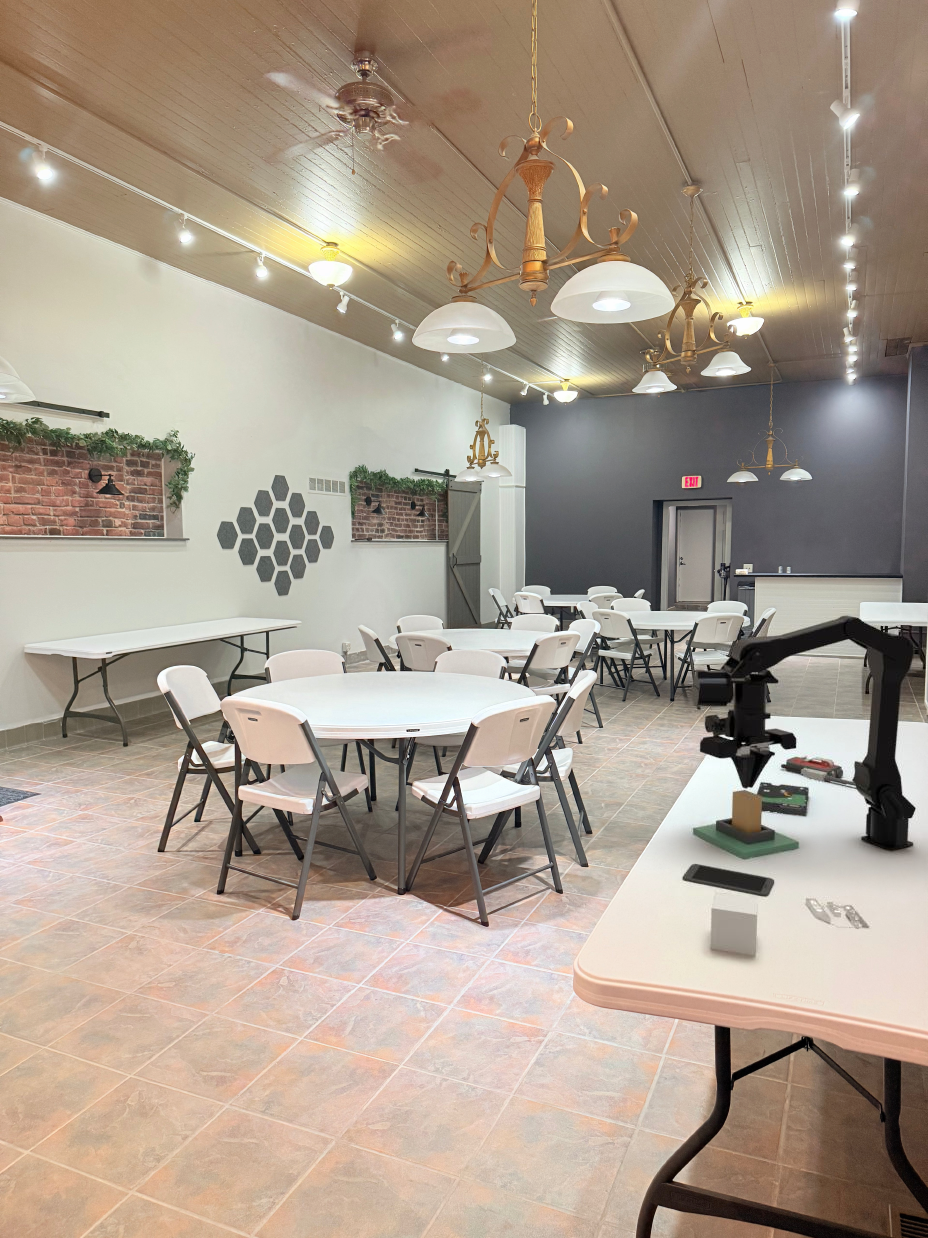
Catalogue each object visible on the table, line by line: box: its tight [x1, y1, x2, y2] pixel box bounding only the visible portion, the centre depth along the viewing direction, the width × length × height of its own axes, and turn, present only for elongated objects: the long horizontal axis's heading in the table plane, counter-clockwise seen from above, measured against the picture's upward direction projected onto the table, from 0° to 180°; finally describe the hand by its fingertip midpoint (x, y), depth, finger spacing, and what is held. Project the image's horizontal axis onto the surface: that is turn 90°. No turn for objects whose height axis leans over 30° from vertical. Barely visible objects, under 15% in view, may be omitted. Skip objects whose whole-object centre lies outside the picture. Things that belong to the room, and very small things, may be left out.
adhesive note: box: [710, 890, 759, 957], centre depth 116 cm, size 6×6×6 cm
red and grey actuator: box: [780, 755, 856, 787], centre depth 197 cm, size 9×4×20 cm
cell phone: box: [682, 863, 775, 898], centre depth 137 cm, size 7×14×1 cm, turn 60°
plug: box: [731, 789, 763, 833], centre depth 155 cm, size 5×3×8 cm, turn 23°
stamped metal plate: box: [805, 897, 871, 930], centre depth 124 cm, size 8×7×2 cm
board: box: [692, 817, 800, 860], centre depth 155 cm, size 14×13×3 cm
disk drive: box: [756, 781, 810, 817], centre depth 177 cm, size 10×3×15 cm
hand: (747, 787), depth 154 cm, fingers closed
